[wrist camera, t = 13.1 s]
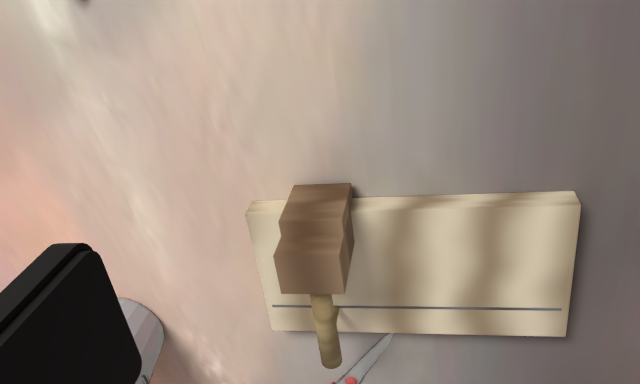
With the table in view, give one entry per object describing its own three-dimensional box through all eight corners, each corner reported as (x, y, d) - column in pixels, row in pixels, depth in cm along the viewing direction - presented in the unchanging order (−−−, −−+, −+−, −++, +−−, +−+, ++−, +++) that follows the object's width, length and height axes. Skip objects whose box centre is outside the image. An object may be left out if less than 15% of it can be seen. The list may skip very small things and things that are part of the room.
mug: (140, 377, 56) (89, 465, 47) (24, 287, 52) (-55, 365, 44) (200, 335, 51) (155, 425, 43) (77, 234, 47) (1, 310, 39)
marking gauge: (350, 183, 40) (336, 239, 33) (366, 313, 46) (357, 382, 39) (294, 185, 40) (269, 240, 34) (316, 312, 47) (299, 379, 40)
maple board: (574, 191, 37) (581, 205, 36) (559, 319, 43) (565, 337, 41) (252, 201, 42) (245, 214, 41) (277, 314, 48) (272, 330, 46)
